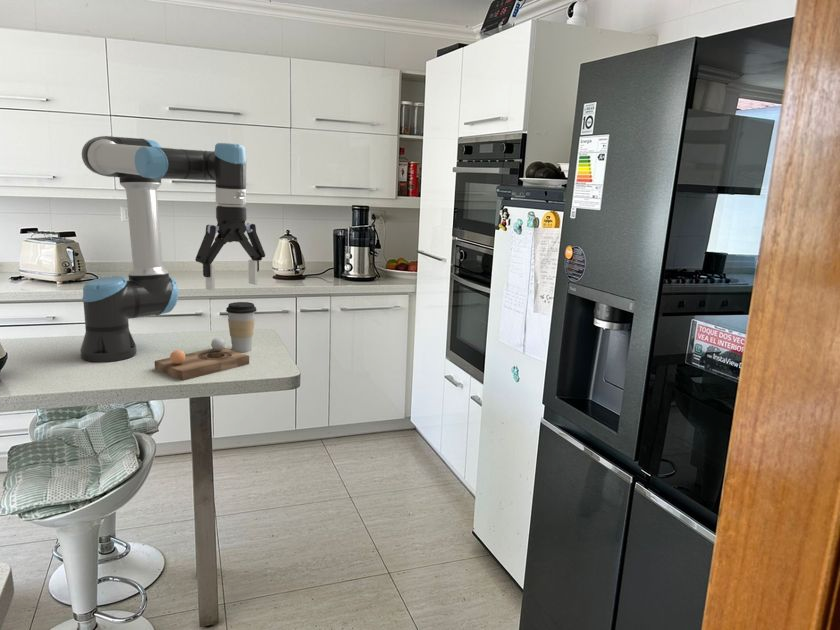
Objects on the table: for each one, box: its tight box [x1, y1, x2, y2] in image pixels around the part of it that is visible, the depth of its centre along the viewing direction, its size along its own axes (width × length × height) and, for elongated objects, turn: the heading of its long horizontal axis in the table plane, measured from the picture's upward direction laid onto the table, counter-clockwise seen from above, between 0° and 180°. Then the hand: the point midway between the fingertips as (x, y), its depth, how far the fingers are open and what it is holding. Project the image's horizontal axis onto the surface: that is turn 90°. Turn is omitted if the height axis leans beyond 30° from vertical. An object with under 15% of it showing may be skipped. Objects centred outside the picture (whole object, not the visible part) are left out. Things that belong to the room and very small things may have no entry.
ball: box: [169, 349, 185, 364], centre depth 172 cm, size 4×4×4 cm
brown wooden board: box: [154, 347, 250, 381], centre depth 179 cm, size 14×22×2 cm, turn 143°
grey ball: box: [210, 337, 226, 351], centre depth 187 cm, size 4×4×4 cm
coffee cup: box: [225, 301, 257, 353], centre depth 197 cm, size 9×9×15 cm
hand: (232, 286), depth 162 cm, fingers open, 13 cm apart
